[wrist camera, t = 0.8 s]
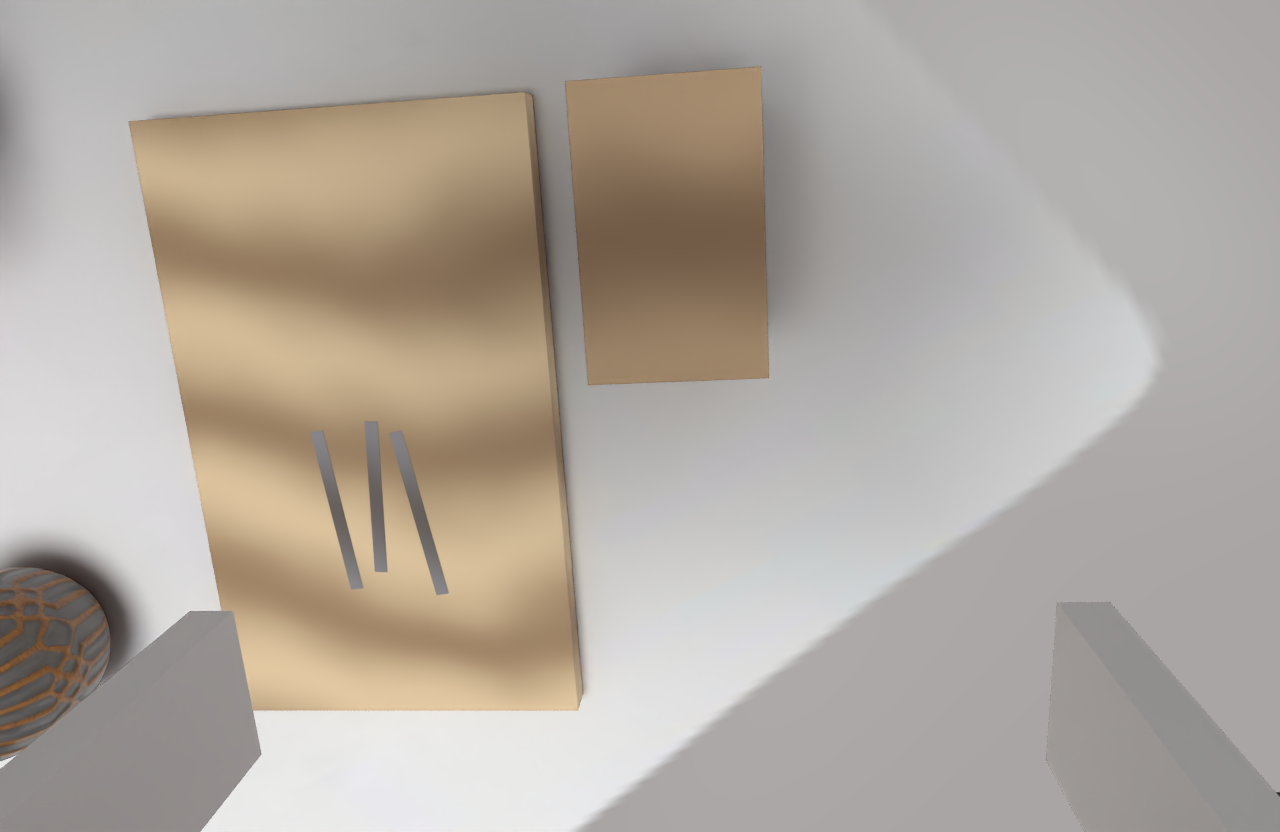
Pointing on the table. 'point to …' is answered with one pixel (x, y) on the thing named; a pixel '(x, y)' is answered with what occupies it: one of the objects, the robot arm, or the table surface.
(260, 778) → the table surface
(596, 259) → the wooden block
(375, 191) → the board
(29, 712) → the vase
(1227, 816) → the robot arm
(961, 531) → the table surface
